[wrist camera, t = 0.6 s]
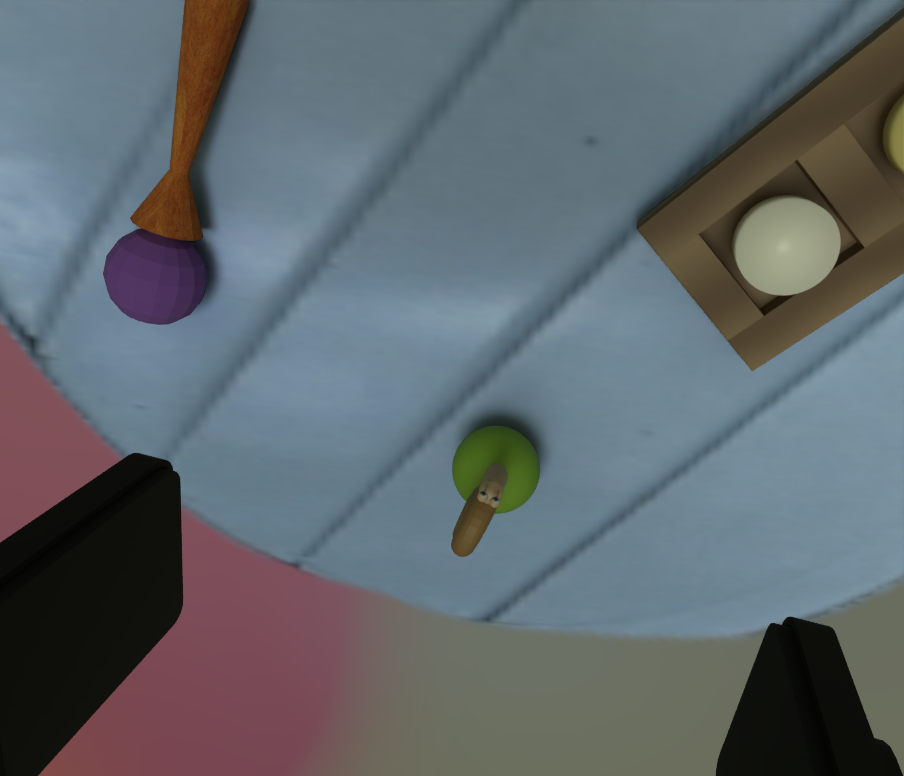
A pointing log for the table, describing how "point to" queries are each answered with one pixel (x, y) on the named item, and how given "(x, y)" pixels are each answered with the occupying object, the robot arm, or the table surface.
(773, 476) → the table surface
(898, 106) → the mustard button
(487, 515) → the snail figurine
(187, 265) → the purple and brown maraca
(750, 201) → the button panel
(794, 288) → the cream button
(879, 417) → the table surface
